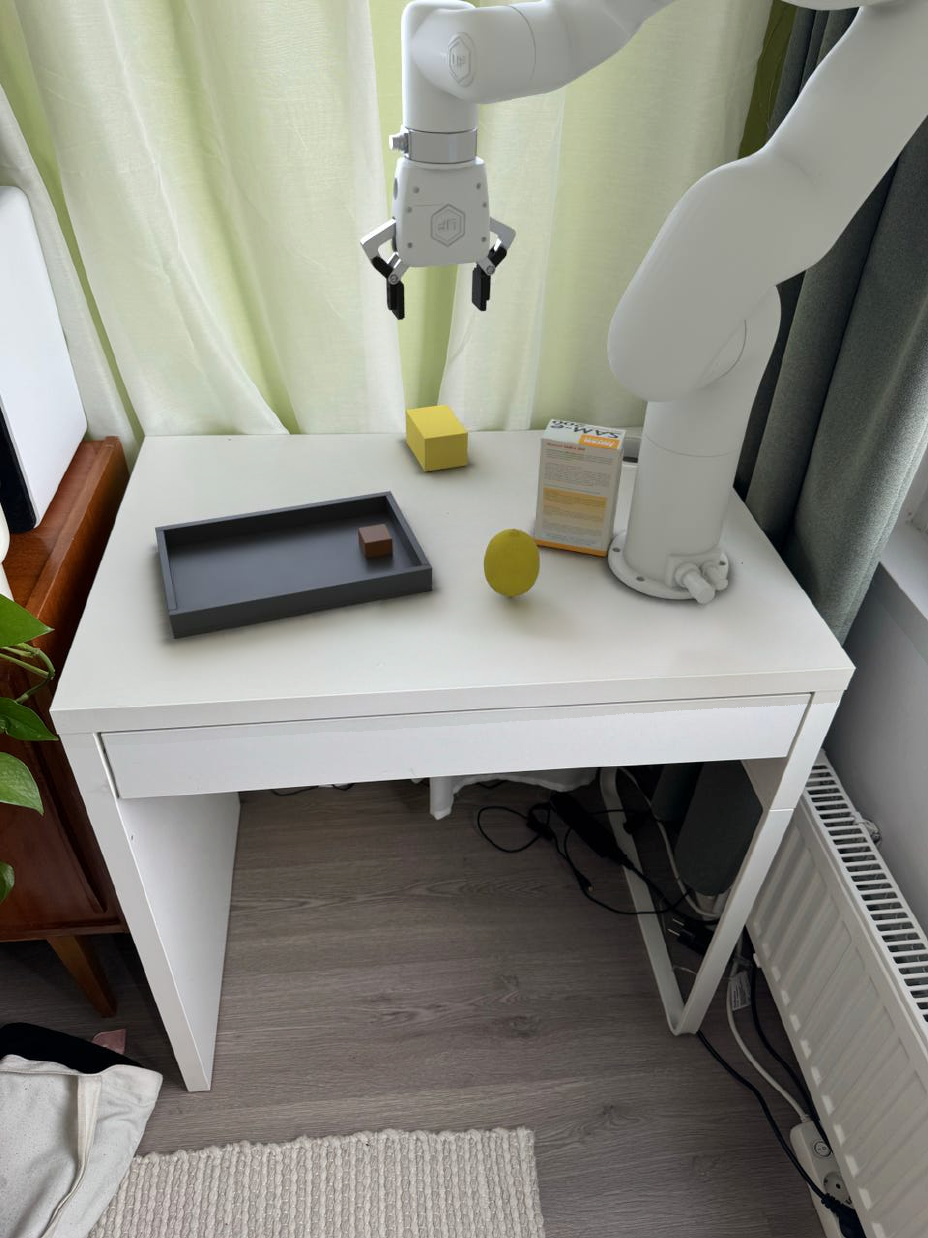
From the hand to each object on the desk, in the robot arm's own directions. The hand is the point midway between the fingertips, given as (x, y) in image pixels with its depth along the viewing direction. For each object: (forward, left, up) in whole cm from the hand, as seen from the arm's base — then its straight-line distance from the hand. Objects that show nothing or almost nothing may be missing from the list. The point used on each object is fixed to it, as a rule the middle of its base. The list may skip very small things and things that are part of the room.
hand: (438, 311), depth 105 cm
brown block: (-19, +13, -18) cm, 29 cm away
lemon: (-30, +2, -18) cm, 35 cm away
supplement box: (-23, -8, -18) cm, 30 cm away
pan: (-19, +22, -18) cm, 34 cm away
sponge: (0, 0, -18) cm, 18 cm away
